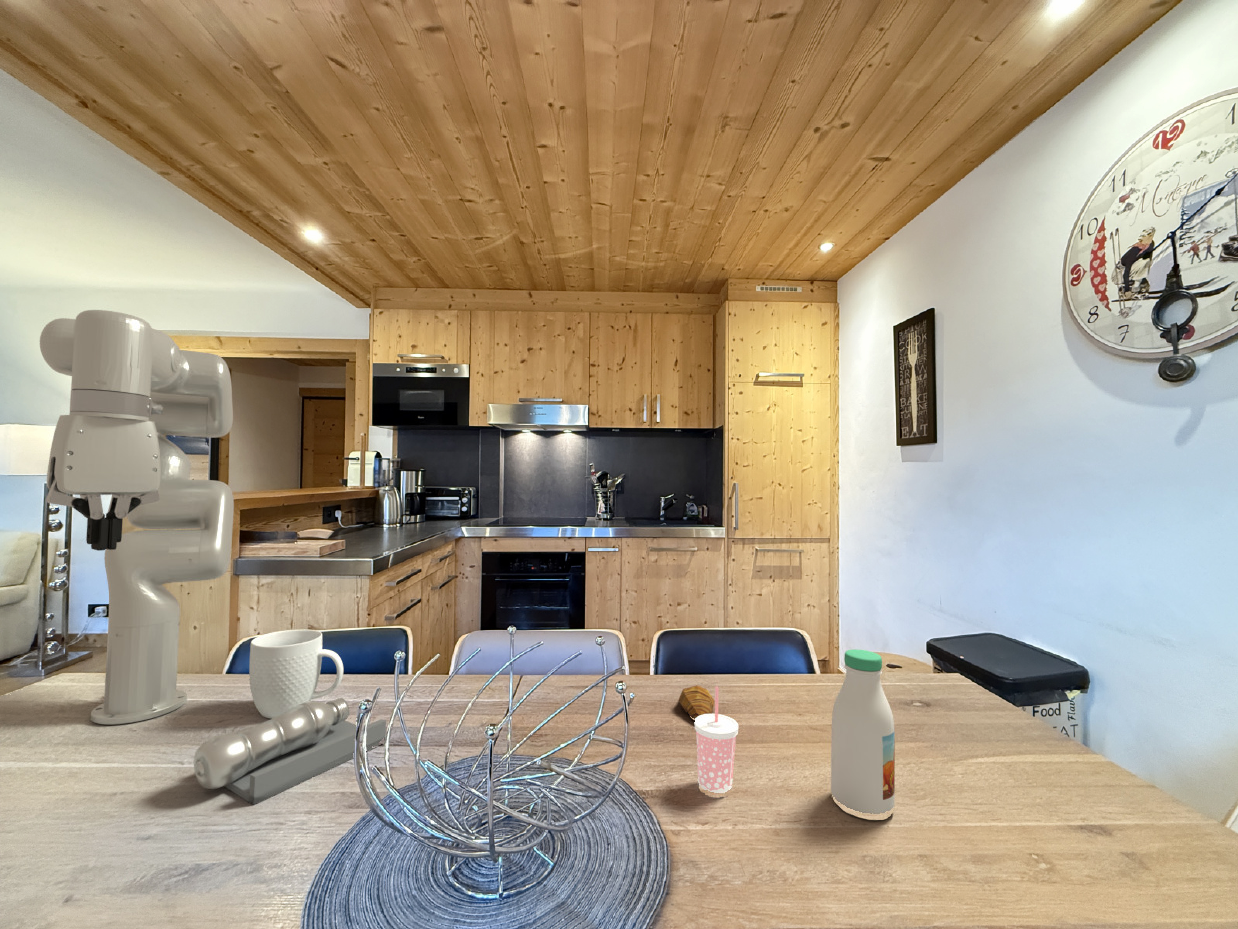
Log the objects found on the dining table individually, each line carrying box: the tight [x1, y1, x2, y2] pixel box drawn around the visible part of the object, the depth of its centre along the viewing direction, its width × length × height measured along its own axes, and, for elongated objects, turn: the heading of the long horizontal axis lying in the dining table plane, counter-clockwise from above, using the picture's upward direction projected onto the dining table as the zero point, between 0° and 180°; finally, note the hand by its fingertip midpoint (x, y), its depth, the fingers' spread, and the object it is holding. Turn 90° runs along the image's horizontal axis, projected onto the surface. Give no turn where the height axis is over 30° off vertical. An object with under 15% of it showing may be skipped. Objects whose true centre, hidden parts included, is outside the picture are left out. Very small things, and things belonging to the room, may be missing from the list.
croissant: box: [678, 685, 715, 719], centre depth 99 cm, size 14×7×5 cm, turn 2°
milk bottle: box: [830, 649, 896, 814], centre depth 71 cm, size 8×8×20 cm
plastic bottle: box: [193, 697, 350, 790], centre depth 78 cm, size 6×7×20 cm
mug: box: [248, 628, 344, 720], centre depth 95 cm, size 15×11×13 cm
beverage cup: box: [693, 685, 739, 793], centre depth 74 cm, size 6×6×14 cm
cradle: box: [223, 719, 387, 806], centre depth 79 cm, size 12×19×4 cm, turn 150°
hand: (103, 548), depth 69 cm, fingers closed
